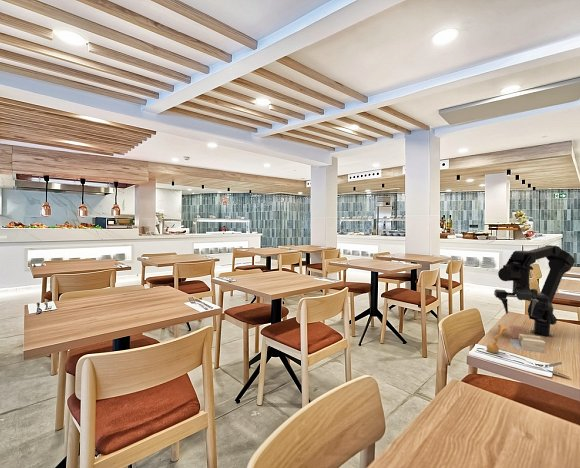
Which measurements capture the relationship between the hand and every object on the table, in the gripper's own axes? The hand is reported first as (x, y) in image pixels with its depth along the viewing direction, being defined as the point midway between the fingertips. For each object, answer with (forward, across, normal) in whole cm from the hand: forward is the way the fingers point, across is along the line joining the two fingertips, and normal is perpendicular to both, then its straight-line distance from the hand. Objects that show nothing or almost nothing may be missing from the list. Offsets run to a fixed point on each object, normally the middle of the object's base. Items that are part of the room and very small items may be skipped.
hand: (519, 315), depth 140 cm
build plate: (+10, +1, -10) cm, 14 cm away
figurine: (+10, -12, -24) cm, 29 cm away
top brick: (+10, 0, 0) cm, 11 cm away
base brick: (+10, +2, -12) cm, 16 cm away
